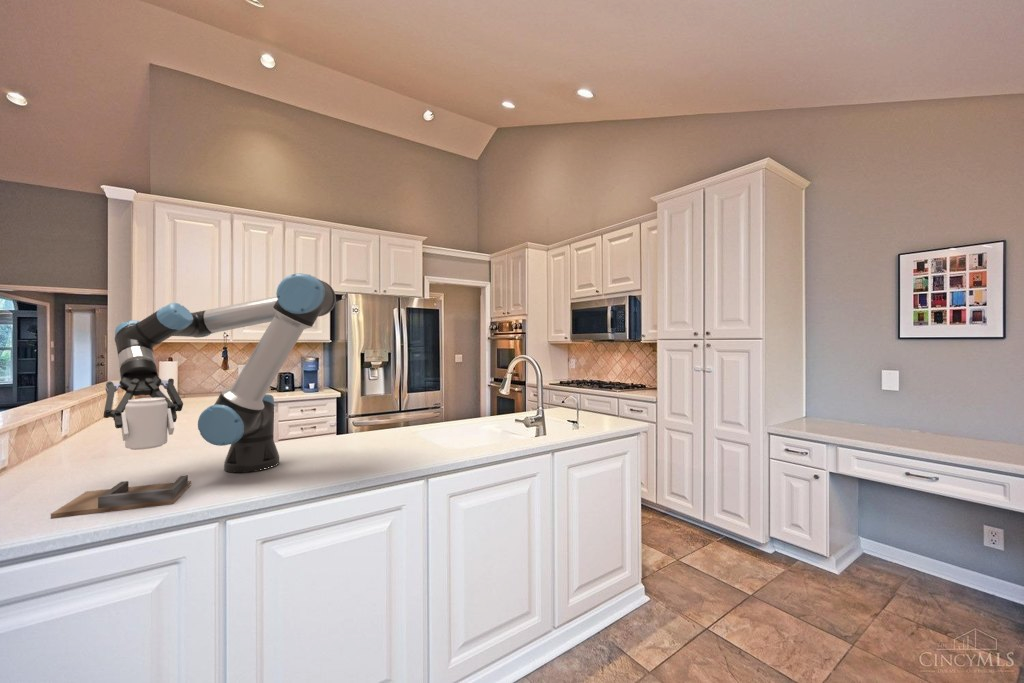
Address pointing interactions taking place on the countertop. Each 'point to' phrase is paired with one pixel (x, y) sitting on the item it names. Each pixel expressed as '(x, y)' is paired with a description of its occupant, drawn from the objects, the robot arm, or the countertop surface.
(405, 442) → the countertop surface
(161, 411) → the beverage can
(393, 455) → the countertop surface
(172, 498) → the keeper
